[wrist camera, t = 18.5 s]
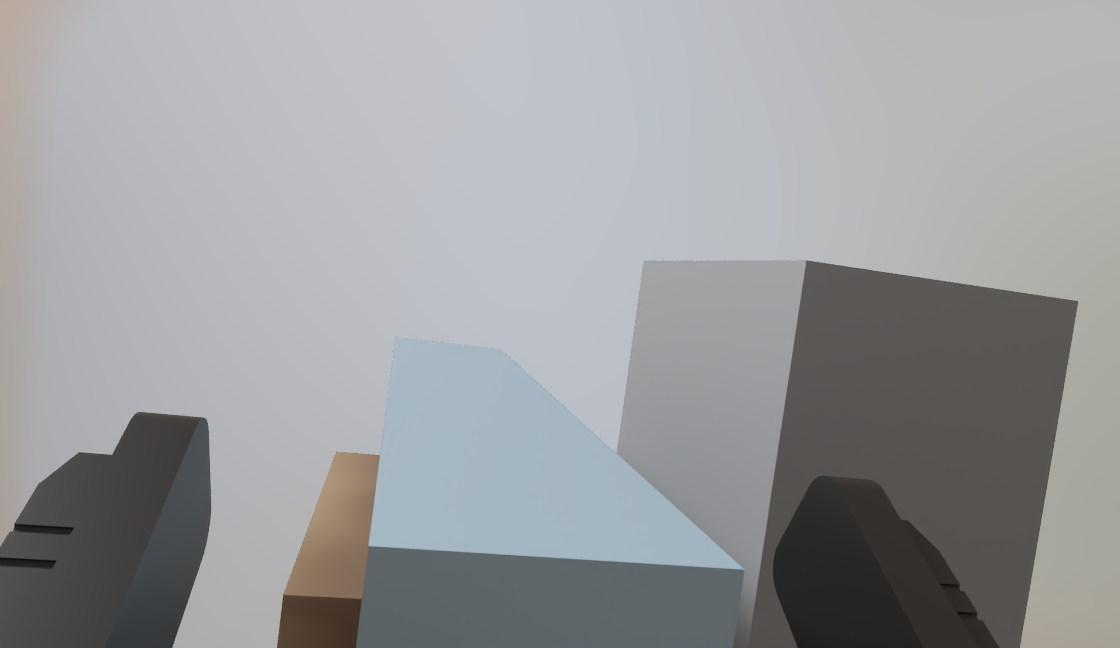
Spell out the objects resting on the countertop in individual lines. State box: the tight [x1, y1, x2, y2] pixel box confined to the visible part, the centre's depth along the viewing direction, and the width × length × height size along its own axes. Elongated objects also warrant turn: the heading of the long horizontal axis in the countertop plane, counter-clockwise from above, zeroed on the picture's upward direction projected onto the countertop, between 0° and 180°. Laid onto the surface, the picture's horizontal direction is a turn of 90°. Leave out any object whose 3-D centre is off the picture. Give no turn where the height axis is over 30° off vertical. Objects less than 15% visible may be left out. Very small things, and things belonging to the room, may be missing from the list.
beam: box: [356, 337, 745, 648], centre depth 19 cm, size 4×22×4 cm, turn 11°
